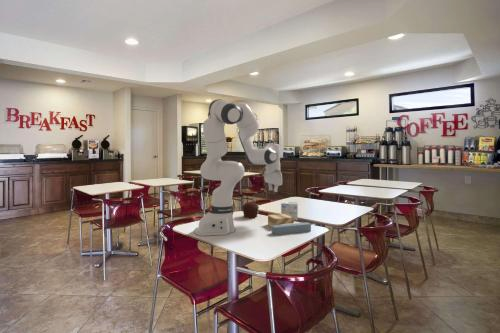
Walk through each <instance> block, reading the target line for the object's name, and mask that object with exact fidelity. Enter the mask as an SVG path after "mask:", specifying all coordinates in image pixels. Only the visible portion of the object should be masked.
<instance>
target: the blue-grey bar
mask: <svg viewBox="0 0 500 333" xmlns="http://www.w3.org/2000/svg"><path fill="white" fill-rule="evenodd" d="M311 229H312V224H311V223H310V222H307V221H306V222H294V223H292V224H281V225H274V226H272V227H271V234H273V235H274V236H277V235H278V236H279V235H289V234H296V233H305V232H312V230H311Z"/></svg>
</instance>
